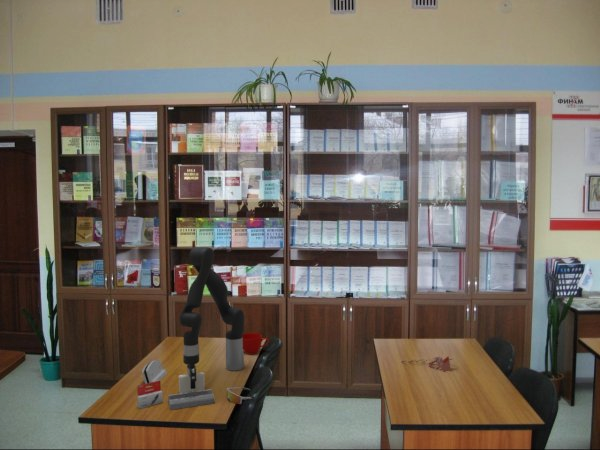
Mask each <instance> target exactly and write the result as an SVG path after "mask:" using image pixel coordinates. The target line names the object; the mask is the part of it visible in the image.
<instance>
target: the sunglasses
mask: <svg viewBox="0 0 600 450" xmlns="http://www.w3.org/2000/svg"><path fill="white" fill-rule="evenodd" d="M235 389H236V390H245V391H251V389H250V388H247V387H243V386H240V387H239V386H238V387H227V388H226V397H227V401H229V402H231V403H232V404H237V405H242V401H243V400H248V399H250V400H251V399H252V398H251V397H252V396H241V395H238V394H237V393H234V392H233V391H232V390H235Z"/></svg>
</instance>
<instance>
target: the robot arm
mask: <svg viewBox="0 0 600 450" xmlns="http://www.w3.org/2000/svg"><path fill="white" fill-rule="evenodd" d="M189 260H190V262H191V264H192V266H193V267H194V269H195V270H196V271H197V273H198V274H197V275H196V278H194V280H193V282H192V283H191V285H190V287H189V289H188V293H187V297H186V298H187V299H186V303H185V305H184V307H183V309H182V311H181V313H180V315H179V324H180V325H181V326H182V327H187V328H191V330H188V331H185V332H183V350H182V352H183V353H182V356H183V357H182V359H183V364H185V365H186V372H187V374H189V377H190V384H191V389H195V381H196V373H197V366H196V364H198V363H200V346H199V334H200V329H201V326H202V321H203V318H202V317H203V316H202V315H201V314H200V313H199V312H195V311H194V309H198V308H200V307H202V306H201V305H202V301H203V296H204V291H205V287H206V288H207V290H208V292H209V294H210V296H211V298H212V299H213V301H214V303H215V305H216V306H217V310H218V311H219V314H220V317H221V319H222V321H223V323H225V324H226V325H231V329H230V330H228V331H226V332H225V369H226V370H227V371H230V372H234V371H235V372H236V371H240V370H243V369H245V367H244V366H245V351H244V350H243V334H244V332H245V313H244V311H243V310H242V309H240V308H238V307H232V305H230V303H229V301H228V294H229V290H228V289H229V288H228V286H227V284H226V282H225V281H224V279H223V278H222V276H221V275H220V274H218V273H217V272H216V271H214V270H213V269H212V266H213V264H214V260H215V253H214V250H213V249H212V248H211V247H208V246H207V247H203V246H202V247H200V246H199V247H193V248H191V250H190V252H189ZM192 311H194V312H192ZM190 374H191V375H190ZM192 377H194V379H192Z"/></svg>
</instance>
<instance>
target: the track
mask: <svg viewBox="0 0 600 450" xmlns="http://www.w3.org/2000/svg"><path fill="white" fill-rule="evenodd" d="M167 397H168V398H167V402H168V406H169V410H170V411H173V410H180V409H185V408H192V407H199V406H200V407H201V406H205V405H212V404H216V401H215V393H213V389H212V388H209V389H205V390H201V391H193V392H186V393H179V392H178V393H175V394H174V393H172V394H168V395H167Z"/></svg>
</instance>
